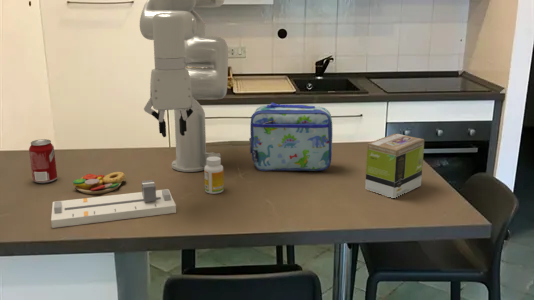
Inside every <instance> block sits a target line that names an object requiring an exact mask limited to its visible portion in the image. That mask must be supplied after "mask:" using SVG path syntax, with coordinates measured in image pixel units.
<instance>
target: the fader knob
mask: <svg viewBox="0 0 534 300" xmlns="http://www.w3.org/2000/svg"><path fill="white" fill-rule="evenodd" d="M140 183H141V192H142V196H143V199H144V202H149V201H156V190H157V189H156V183H155V182H154V179H150V180H149V179H147V180H141V182H140Z"/></svg>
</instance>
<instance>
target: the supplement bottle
mask: <svg viewBox="0 0 534 300" xmlns="http://www.w3.org/2000/svg"><path fill="white" fill-rule="evenodd" d="M221 159H222V157H221V158H220V157H208V158H207V164H208V165H206V166H205V168H204V170H203V171H204V173H203V174H204V191H205V192H206V193H207V194H211V195H213V194H215V195H216V194H220V193H223V192H224V188H225V185H224V184H225V183H224V181H225V180H224V166H223V165H222V164H221V163H222V160H221Z"/></svg>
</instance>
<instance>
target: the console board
mask: <svg viewBox="0 0 534 300" xmlns="http://www.w3.org/2000/svg"><path fill="white" fill-rule="evenodd" d="M51 207H52V208H51V217H50V222H51V224H50V225H51V229H54V228H63V227H71V226H78V225H79V226H80V225H88V224H94V223H95V224H96V223H103V222H111V221H119V220H120V221H121V220H127V219H135V218H145V217H151V216H161V215H168V214H169V215H170V214H176V213H177V204H176V202H175V200H174V199H173V197H172V194H171V192H170V189H168V188H166V189H156V201H149V202H144V199H143V196H142V191H140V192H139V191H138V192H129V193H122V194H112V195H102V196H93V197H85V198H75V199H67V200H66V199H65V200H57V201H52V204H51Z"/></svg>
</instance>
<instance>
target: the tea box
mask: <svg viewBox="0 0 534 300" xmlns="http://www.w3.org/2000/svg"><path fill="white" fill-rule="evenodd" d="M366 147H367V148H366V164H365V165H366V166H365V167H366V169H365V182H364V184H365V188H364V189H367V190H370V191H373V192H376V193H379V194H382V195H385V196H387V197H391V198H395V199H396V197H397V198H399V197H400V195H401V196H402V194H403V195H405V194H407V193H409V192H411V191H414V190H415V189H417V188H419V187H421V186H422V177H423V165H424V153H425V139H424V138H421V137H420V138H419V137H415V136H411V135H404V134H400V133H397V132H396V133H392V134H390V135H387V136H385V137H382V138H378V139H376V140H374V141H371V142H367V146H366ZM404 193H405V194H404ZM398 196H399V197H398ZM387 197H386V198H387ZM391 198H390V199H391Z"/></svg>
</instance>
